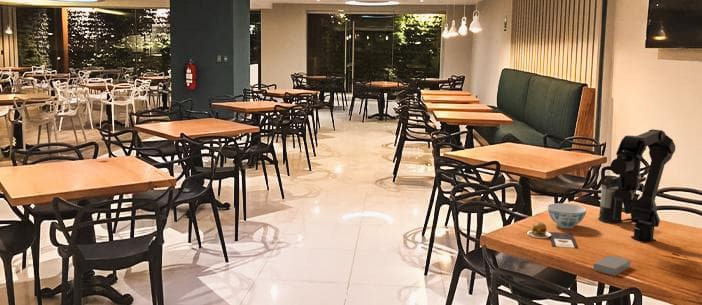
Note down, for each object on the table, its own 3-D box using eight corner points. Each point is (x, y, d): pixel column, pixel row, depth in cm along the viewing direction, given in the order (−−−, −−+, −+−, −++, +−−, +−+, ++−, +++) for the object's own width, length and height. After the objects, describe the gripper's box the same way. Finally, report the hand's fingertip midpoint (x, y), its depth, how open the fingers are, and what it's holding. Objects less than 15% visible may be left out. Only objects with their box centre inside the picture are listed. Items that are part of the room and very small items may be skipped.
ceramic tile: (610, 255, 218) (593, 263, 209) (630, 260, 213) (614, 268, 204) (609, 262, 218) (593, 271, 210) (629, 268, 213) (614, 277, 205)
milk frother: (593, 218, 273) (596, 184, 270) (625, 216, 277) (628, 182, 274) (615, 227, 259) (618, 192, 257) (648, 225, 263) (651, 190, 261)
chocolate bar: (572, 233, 249) (578, 247, 232) (571, 235, 249) (578, 250, 232) (548, 231, 251) (552, 245, 234) (547, 234, 251) (552, 248, 234)
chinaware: (580, 233, 250) (582, 214, 248) (541, 227, 258) (543, 209, 256) (588, 224, 262) (590, 206, 261) (551, 219, 270) (552, 201, 269)
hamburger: (551, 243, 239) (552, 229, 238) (519, 238, 245) (520, 224, 244) (558, 235, 249) (559, 221, 249) (527, 230, 255) (528, 217, 254)
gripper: (615, 164, 240) (611, 205, 243) (599, 172, 226) (596, 214, 228) (646, 168, 233) (642, 210, 236) (633, 176, 219) (628, 220, 222)
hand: (627, 213), depth 231 cm, fingers closed
